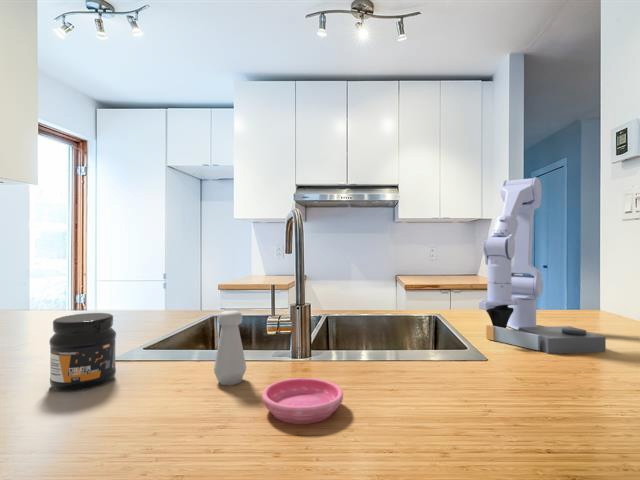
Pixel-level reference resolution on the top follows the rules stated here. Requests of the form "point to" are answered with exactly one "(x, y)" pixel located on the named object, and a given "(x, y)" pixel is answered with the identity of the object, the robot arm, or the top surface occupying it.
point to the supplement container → (82, 351)
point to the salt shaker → (230, 350)
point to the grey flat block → (567, 339)
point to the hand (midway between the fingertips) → (499, 334)
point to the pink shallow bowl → (302, 400)
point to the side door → (513, 337)
